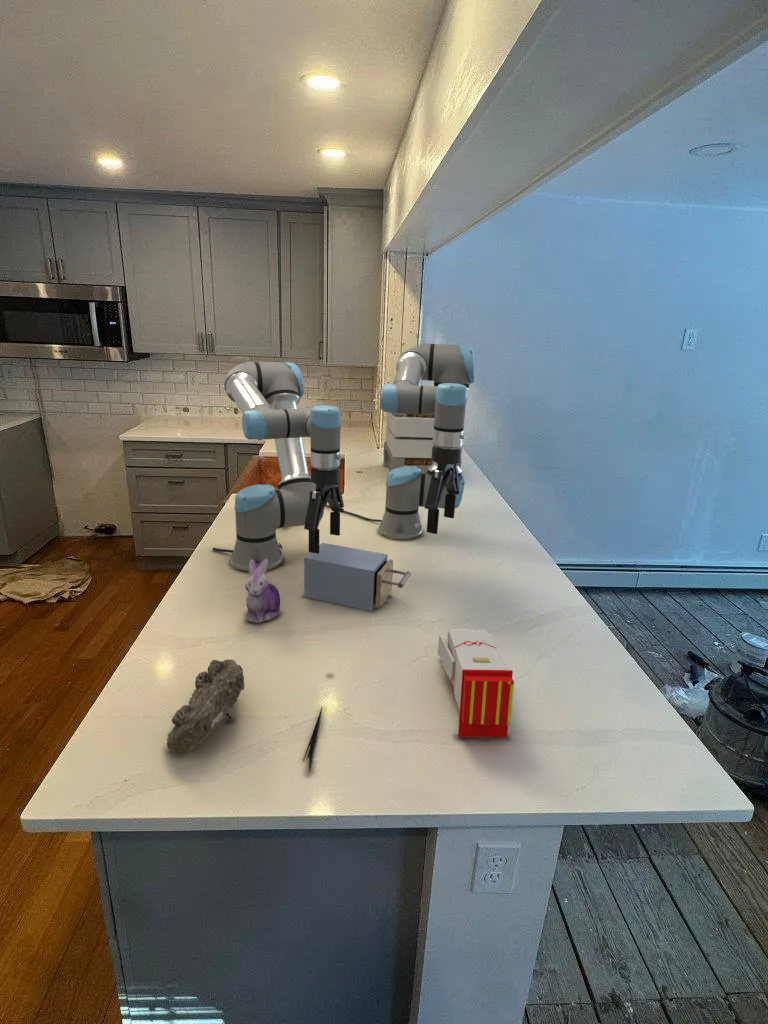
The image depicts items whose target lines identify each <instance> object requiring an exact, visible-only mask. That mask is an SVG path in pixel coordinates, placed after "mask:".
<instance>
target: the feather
mask: <svg viewBox="0 0 768 1024" xmlns="http://www.w3.org/2000/svg"><path fill="white" fill-rule="evenodd" d="M329 675H330V676H331V675H332V674H331V673H330V674H329ZM322 710H323V707H321V708H320V710H319V713H318V716H317V719H316V723H315V725H314V728H313V731H312V733H311V737H310V739H309V742H308V745H307V748H306V751H305V754H304V757H303V760H302V763H301V767H302V765H303V763H304V761H305V758H308V759H309V760H308V762H307V763H308V764H307V766H308V771H310V770H311V766H312V765H311V764H312V760H313V757H315V756H314V755H315V751H316V749H315V746H317V739H318V733H319V729H320V722H321V717H322V712H323V711H322ZM313 754H314V755H313ZM306 755H307V757H306Z"/></svg>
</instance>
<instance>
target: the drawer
mask: <svg viewBox="0 0 768 1024" xmlns="http://www.w3.org/2000/svg"><path fill="white" fill-rule="evenodd" d="M382 566H383V564H382V565H381V566H380V567H379V569H378V570H377V571H376V572H375V580H374V598H375V597H376V606H375V608H381V607H382V606H383V605H384V603H385V602H386V600H387V599H388V597H389V596H390V594H391V593H392V591H393V586H397V587H398V588H399V589H403V587H404V586H405V584H406V583H407V581H408V580H409V578H410V577H411V576H412V572H411V571H410V570H407V571H401V570H397V569H394V559H391V558H389V559H387V563H386V564H385V565H384V566H383V568H382ZM394 574H398V575H403V576H402V577H401V579H400V580H399V581H398V582H396V581H393V577H394Z"/></svg>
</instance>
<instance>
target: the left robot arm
mask: <svg viewBox="0 0 768 1024" xmlns="http://www.w3.org/2000/svg"><path fill="white" fill-rule="evenodd" d="M298 366H299V365H297V364H295V363H294V362H291V361H289V362H287V361H246V362H242V363H239V364H237V365H235V366H234V367H232V368H231V369H230V370H229V371H228V373H227V374H226V376H225V378H224V383H223V386H224V390H225V394H226V395H227V397H228V398H229V399H230V401H232V402H234V403H235V404H236V405H237V407H238V409H239V410H240V411H241V414H242V416H241V426H242V433H243V436H244V438H245V439H247V440H252V441H254V440H255V441H256V440H257V441H263V440H274V445H275V449H276V456H277V462H278V467H279V473H280V478H281V480H280V481H279V482H278V484H277V489H276V488H275V486H274V485H271V484H260V483H259V484H253V485H249V486H246V487H244V488H241V490H238V491H237V493H236V494H235V496H234V508H233V509H234V511H235V512H234V513H235V533H236V534H235V535H236V539H235V543H234V546H233V549H228V548H227V549H226V548H218V547H213V548H212V551H214V552H220V553H228V554H229V553H230V554H231V557H230V559H231V565H232V567H234V569H237V570H239V571H241V572H247V573H249V563H250V561H251V560H254V561H255V563H256V565H257V567H258V566H259V565H260V564H261V562H262V561H263V560H264V559H268V566H267V569H266V572H267V571H270V570H274V569H276V568H278V567H279V566H280V565H282V563H283V547H284V546H283V545H282V544H281V543H280V542H279V541H278V539H277V529H283V528H284V529H286V528H295V527H303V529H304V530H307V531H308V553H310V552H312V553H317V554H318V553H319V545H320V528H319V526H320V522H321V521H322V519H323V518H324V513H325V508H327V507H326V505H329V506H330V508H329V509H330V512H329V534H330V535H332V536H338V537H339V536H340V535H341V513H343V512H344V511H345V509H344V508H345V503H344V499H343V495H342V489H341V469H340V465H341V460H342V456H341V427H342V426H341V425H342V419H341V410H340V408H339V407H337V406H335V405H328V404H326V405H325V404H322V405H321V404H319V405H314V406H310V405H306V406H302V407H301V408H298V407H297V406H298V405H299V404H300V403H301V399H302V398H303V396H304V392H305V386H304V384H305V383H304V379H303V374H302V372H301V370H300V367H298ZM303 438H309V439H310V459H309V460H310V463H309V464H310V466H311V468H310V472H309V468H308V461H307V456H306V451H305V446H304V445H305V444H304V441H303Z"/></svg>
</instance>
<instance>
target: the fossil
mask: <svg viewBox="0 0 768 1024" xmlns="http://www.w3.org/2000/svg"><path fill="white" fill-rule="evenodd" d="M243 670H244V669H243V667H242V665H240V664H237V662H236V661H235V660H234V659H232V658H231V659H227V658H226V659H224V660H223V661H222V660H217V659H212V660H211V661H210V663H209V665H208V666H207V671H201V672H199V673H198V674H197V675H196V676H195V680H194V684H195V685H194V687H195V689H194V690H193V693H192V694H191V697H190V698H189V700H188V704H184V705H182V706H181V707H180V709H177V710H176V711H175V713H174V715H173V716H172V718H171V723H172V724H173V727H172V730H171V731H170V732H168V734H167V738H166V741H167V742H166V745H167V749H168V750H169V751H173V752H174V753H176V754H178V753H182V752H188V751H189V752H192V751H193V750H195V748H196V747H197V746H199V744H200V743H201V742H203V741H204V740H205V739H206V738H207V737H208V736H209V735H210V734H211V733H212V732H214V730H215V729H217V727H218V726H219V724H220V722H221V721H222V720H223V719H224V718H225V716H226V717H227V719H229V720H233V717H232V715H230V714H229V710H230V709H231V708H234V706H235V704H236V703H237V702H238V699H239V697H240V695H241V693H242V691H243V690H245V689H244V688H245V675H244V671H243Z"/></svg>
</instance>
